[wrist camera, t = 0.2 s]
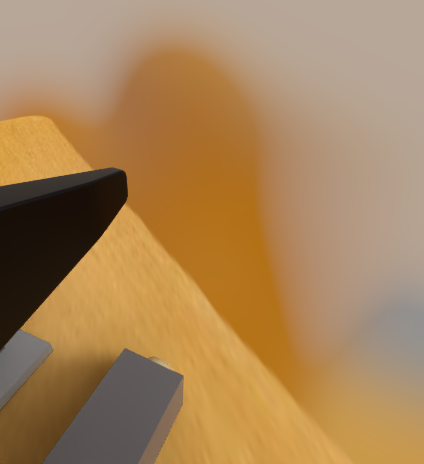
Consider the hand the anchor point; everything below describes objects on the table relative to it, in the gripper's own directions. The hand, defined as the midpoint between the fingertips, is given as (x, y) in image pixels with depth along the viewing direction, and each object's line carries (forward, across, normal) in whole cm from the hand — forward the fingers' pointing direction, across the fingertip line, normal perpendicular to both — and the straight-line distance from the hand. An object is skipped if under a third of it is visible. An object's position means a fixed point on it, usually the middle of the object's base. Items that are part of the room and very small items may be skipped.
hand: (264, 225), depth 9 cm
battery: (-3, +5, +17) cm, 18 cm away
